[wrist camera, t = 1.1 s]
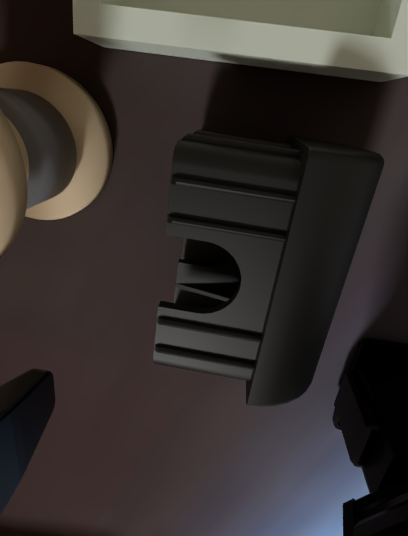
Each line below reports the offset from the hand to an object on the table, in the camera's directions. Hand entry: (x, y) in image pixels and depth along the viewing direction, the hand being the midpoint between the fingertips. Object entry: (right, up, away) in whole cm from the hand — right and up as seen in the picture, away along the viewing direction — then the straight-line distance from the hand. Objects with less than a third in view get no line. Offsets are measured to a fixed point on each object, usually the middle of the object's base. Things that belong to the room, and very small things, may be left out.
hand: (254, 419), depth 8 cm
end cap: (+2, +5, +11) cm, 12 cm away
